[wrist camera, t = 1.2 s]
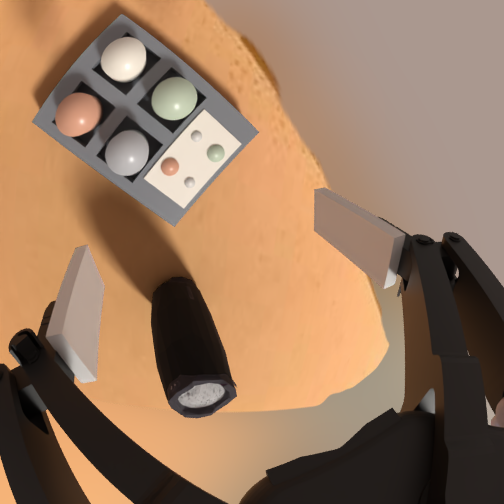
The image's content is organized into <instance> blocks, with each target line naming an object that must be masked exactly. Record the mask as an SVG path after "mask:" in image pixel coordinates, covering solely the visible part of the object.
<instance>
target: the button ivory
mask: <svg viewBox="0 0 504 504" xmlns="http://www.w3.org/2000/svg"><path fill="white" fill-rule="evenodd" d="M101 66H102V69H103V70H104V72H105V73H106V74H107V75H108V76H109V77H111V78H112V79H113V80H114V81H116V82H119V83H127V82H131V81H133V80H135V79H137V78H138V77H139V76H140V75H141V74H142V73H143V71H144V69H145V67H146V50H145V47H144V45H143V44H142V42H140V41H139V40H138V39H136V38H132V37H123V38H119V39H117V40H115V41H113V42H112V43H110V44H109V45H108V46H107V47H106V49H105V50H104V52H103V54H102V57H101Z"/></svg>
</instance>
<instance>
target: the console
mask: <svg viewBox="0 0 504 504" xmlns="http://www.w3.org/2000/svg"><path fill="white" fill-rule="evenodd" d="M123 37H132V38H136V39H138V40H139V41H140V42H142V44H143V45H144V47H145V50H146V67H145V69H144V71H143V73H142V74H141V75H140V76H139V77H138V78H137V79H135V80H133V81H131V82H127V83H119V82H116V81H114V80H113V79H112V78H111V77H109V76H108V75H107V74H106V73H105V72H104V70H103V69H102V66H101V57H102V54H103V52H104V50H105V49H106V47H107V46H108V45H109V44H110V43H112V42H113V41H115V40H117V39H119V38H123ZM172 77H180V78H184V79H186V80H188V81H189V82H191V83H192V84H193V86H194V87H195V89H196V92H197V102H196V105H195V107H194V109H193V110H192V112H191V113H190V114H189V115H187V116H186V117H184V118H182V119H178V120H167V119H164V118H162V117H160V116H158V115H157V114H156V113H155V112H154V110H153V108H152V95H153V92H154V90H155V88H156V87H157V86H158V85H159V84H160V83H161V82H162V81H164V80H166V79H168V78H172ZM73 93H85V94H89V95H92V96H95V97H97V98H98V99H99V100H100V101H101V103H102V105H103V117H102V120H101V122H100V123H99V125H98V126H97V127H96V128H95V129H93V130H92V131H90V132H87V133H84V134H82V135H79V136H75V137H70V136H66V135H64V134H63V133H61V132H60V131H59V129H58V128H57V125H56V121H55V115H56V111H57V108H58V106H59V104H60V103H61V102H62V100H63V99H64V98H66V97H67V96H69V95H71V94H73ZM32 122H33V123H34V124H35V125H37V126H38V127H39V128H41V129H42V130H43V131H44V132H46V133H47V134H48V135H50V136H51V137H52V138H54V139H55V140H56V141H57V142H59V143H60V144H61V145H63V146H64V147H65V148H67V149H68V150H69V151H71V152H72V153H73V154H75V155H76V156H77V157H79V158H80V159H81V160H83V161H84V162H85V163H87V164H88V165H89V166H91V167H92V168H93V169H95V170H96V171H97V172H99V173H100V174H101V175H103V176H104V177H106V178H107V179H108V180H110V181H111V182H112V183H114V184H115V185H116V186H118V187H119V188H121V189H122V190H123V191H125V192H126V193H128V194H129V195H130V196H132V197H133V198H134V199H136V200H137V201H139V202H140V203H141V204H143V205H144V206H146V207H147V208H148V209H150V210H151V211H153V212H154V213H155V214H157V215H158V216H160V217H161V218H162V219H164V220H165V221H167V222H168V223H170V224H171V225H172V226H174V227H175V225H176V224H177V223H178V222H179V221H180V219H181V218H182V217H183V216H184V215H185V213H186V212H187V211H188V210H189V209H190V207H191V206H192V205H193V204H194V203H195V202H196V200H197V199H198V198H199V197H200V196H201V195H202V193H203V192H204V191H205V190H206V189H207V188H208V187H209V185H210V184H211V183H212V182H213V181H214V180H215V179H216V178H217V177H218V175H219V174H220V173H221V172H222V171H223V170H224V169H225V168H226V167H227V166H228V164H229V163H230V162H231V161H232V160H233V159H234V158H235V157H236V156H237V155H238V154H239V153H240V152H241V151H242V149H243V148H244V147H245V146H246V145H247V144H248V143H249V142H250V141H251V140H252V139H253V138H254V137H255V136H256V135H257V134H258V133H259V132H258V131H257V130H256V128H255V127H254V126H253V125H252V124H251V123H250V122H249V121H248V120H247V119H246V118H245V117H244V116H243V115H242V114H241V113H240V112H238V111H237V110H236V109H235V108H234V107H233V106H232V105H231V104H230V103H229V102H228V101H227V100H226V99H225V98H224V97H223V96H222V95H221V94H220V93H219V92H217V91H216V90H215V89H214V88H213V87H212V86H211V85H210V84H209V83H208V82H207V81H205V80H204V79H203V78H202V77H201V76H200V75H199V74H198V73H196V72H195V71H194V70H193V69H192V68H191V67H190V66H188V65H187V64H186V63H185V62H184V61H183V60H181V59H180V58H179V57H178V56H177V55H175V54H174V53H173V52H172V51H170V50H169V49H168V48H167V47H166V46H164V45H163V44H162V43H161V42H159V41H158V40H157V39H155V38H154V37H153V36H152V35H150V34H149V33H148V32H146V31H145V30H144V29H142V28H141V27H140V26H138V25H137V24H136V23H134V22H133V21H132V20H130V19H129V18H127V17H126V16H125V15H123V14H121V15H120V16H119V17H118V18H117V19H116V20H114V21H113V22H112V23H111V24H110V25H109V26H108V27H107V28H106V29H105V30H104V31H103V32H102V33H101V34H100V35H99V36H98V37H97V38H96V39H95V40H94V41H93V42H92V43H91V45H90V46H89V47H88V48H87V49H86V50H85V51H84V52H83V53H82V54H81V56H80V57H79V58H78V59H77V60H76V61H75V63H74V64H73V65H72V66H71V67H70V69H69V70H68V71H67V72H66V74H65V75H64V76H63V78H62V79H61V80H60V81H59V83H58V84H57V86H56V87H55V88H54V90H53V91H52V92H51V94H50V95H49V97H48V98H47V100H46V101H45V103H44V104H43V106H42V107H41V109H40V110H39V112H38V113H37V115H36V116H35V118H34V120H33V121H32ZM128 129H135V130H138V131H140V132H142V133H143V134H144V135H145V136H146V138H147V140H148V144H149V155H148V159H147V162H146V164H145V165H144V167H143V168H142V169H141V170H140V171H138V172H137V173H135V174H133V175H128V176H123V175H118V174H116V173H114V172H113V171H112V170H111V169H110V168H109V166H108V165H107V162H106V158H105V152H106V148H107V146H108V144H109V142H110V141H111V140H112V138H114V137H115V136H116V135H118V134H119V133H121V132H122V131H124V130H128Z"/></svg>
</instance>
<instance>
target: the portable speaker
mask: <svg viewBox="0 0 504 504" xmlns="http://www.w3.org/2000/svg"><path fill="white" fill-rule="evenodd" d="M151 327H152V335H153V343H154V350H155V357H156V363H157V369H158V372H159V375H160V379H161V382H162V385H163V388H164V391H165V395H166V398H167V400H168V403H169V405H170V406H171V408H172V409H174V410H175V411H177V412H178V413H180V414H181V415H183V416H184V417H189V418H201V417H205V416H209V415H212V414H213V413H215V412H216V411H217V410H219V409H220V408H222V407H223V406H225V405H226V404H228V403H229V402H230V401H231V400H233V399H234V398H235V397H237V395H236V389H235V387H234V385H235V386H236V384H235V382H234V381H233V380H232V377H231V373H230V369H229V365H228V361H227V357H226V353H225V350H224V347H223V345H222V342H221V340H220V337H219V334H218V332H217V329H216V327H215V324H214V321H213V319H212V316H211V313H210V311H209V309H208V307H207V305H206V303H205V301H204V299H203V297H202V295H201V293H200V290H199V289H198V288H197V287H196V285H195V284H194V283H193V281H192V280H189V279H186V278H184V277H172V279H171V280H170V281H168V282H166V283H164V284H162V285H160V287H159V288H158V289H157V290H156V291H155V292H154V293H153V300H152V312H151Z"/></svg>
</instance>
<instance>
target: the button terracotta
mask: <svg viewBox="0 0 504 504" xmlns="http://www.w3.org/2000/svg"><path fill="white" fill-rule="evenodd" d="M102 117H103V105H102V103H101V101H100V100H99V99H98V98H97V97H95V96H92V95H89V94H85V93H73V94H71V95H69V96H67V97H66V98H64V99H63V100H62V102H61V103H60V104H59V106H58V108H57V111H56V115H55V121H56V125H57V128H58V129H59V131H60V132H61V133H63V134H64V135H66V136H70V137H75V136H79V135H82V134H84V133H87V132H90V131H92V130H93V129H95V128H96V127H97V126H98V125H99V123H100V122H101V120H102Z"/></svg>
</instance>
